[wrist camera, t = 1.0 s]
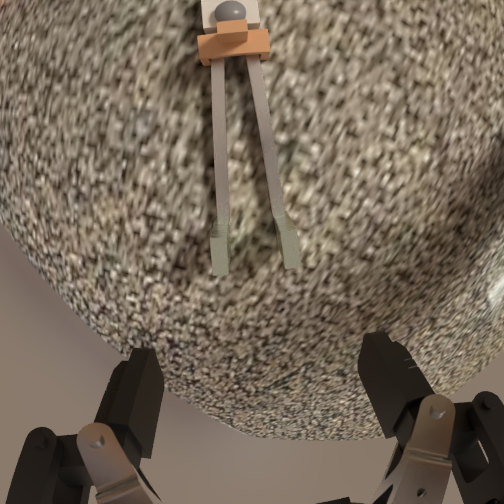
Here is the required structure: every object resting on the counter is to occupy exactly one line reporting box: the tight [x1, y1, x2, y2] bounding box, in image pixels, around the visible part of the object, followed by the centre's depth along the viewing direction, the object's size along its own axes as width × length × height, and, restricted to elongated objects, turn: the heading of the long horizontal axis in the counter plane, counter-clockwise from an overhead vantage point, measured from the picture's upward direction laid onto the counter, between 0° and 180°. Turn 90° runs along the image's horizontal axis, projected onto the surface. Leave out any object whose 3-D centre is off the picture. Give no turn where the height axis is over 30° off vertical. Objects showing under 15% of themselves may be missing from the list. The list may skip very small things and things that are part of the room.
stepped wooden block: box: [197, 19, 270, 66], centre depth 17 cm, size 2×5×5 cm, turn 95°
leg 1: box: [210, 57, 231, 276], centre depth 21 cm, size 19×1×5 cm, turn 1°
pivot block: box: [201, 0, 260, 34], centre depth 17 cm, size 4×4×2 cm
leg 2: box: [245, 54, 301, 269], centre depth 21 cm, size 19×1×5 cm, turn 9°
